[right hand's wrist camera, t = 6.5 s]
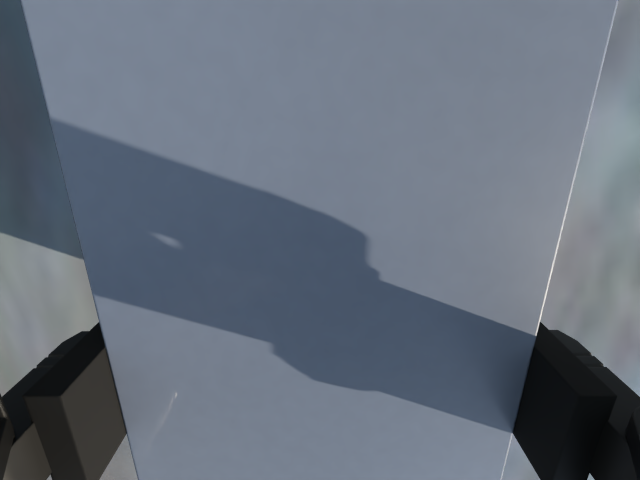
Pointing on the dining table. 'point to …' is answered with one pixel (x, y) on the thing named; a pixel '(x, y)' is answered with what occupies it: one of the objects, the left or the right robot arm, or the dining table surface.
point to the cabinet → (319, 220)
